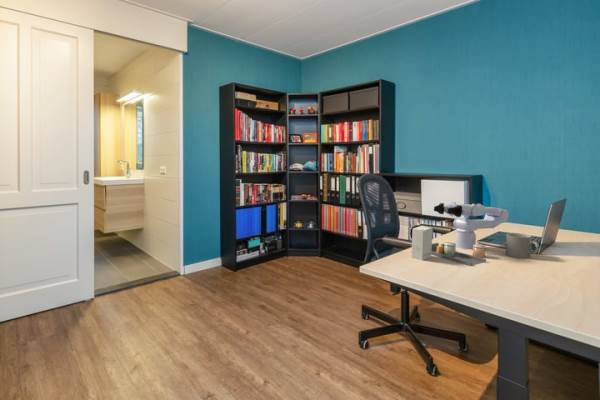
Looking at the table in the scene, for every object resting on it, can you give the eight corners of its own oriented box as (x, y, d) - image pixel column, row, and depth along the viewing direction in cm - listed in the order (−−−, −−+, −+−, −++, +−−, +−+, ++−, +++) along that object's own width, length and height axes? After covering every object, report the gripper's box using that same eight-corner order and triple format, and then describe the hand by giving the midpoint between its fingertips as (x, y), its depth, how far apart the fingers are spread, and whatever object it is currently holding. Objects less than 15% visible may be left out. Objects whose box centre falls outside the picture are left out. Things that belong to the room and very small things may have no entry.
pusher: (447, 252, 163) (448, 242, 163) (449, 252, 162) (450, 243, 162) (436, 254, 159) (436, 244, 159) (438, 255, 158) (438, 245, 158)
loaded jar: (448, 253, 161) (448, 241, 160) (457, 256, 157) (458, 244, 156) (441, 255, 159) (441, 243, 158) (450, 257, 154) (451, 245, 153)
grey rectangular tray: (437, 249, 171) (437, 242, 170) (486, 263, 148) (487, 255, 148) (421, 252, 165) (421, 245, 164) (469, 267, 142) (470, 259, 142)
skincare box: (420, 255, 160) (421, 225, 158) (432, 258, 155) (433, 227, 153) (410, 259, 154) (411, 227, 153) (422, 262, 150) (423, 229, 148)
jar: (476, 255, 160) (477, 243, 159) (487, 258, 156) (488, 246, 155) (469, 256, 158) (470, 245, 157) (480, 259, 153) (481, 247, 152)
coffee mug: (500, 253, 162) (502, 233, 161) (514, 251, 166) (515, 232, 165) (528, 261, 150) (530, 240, 149) (542, 258, 154) (544, 237, 153)
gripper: (447, 200, 174) (429, 200, 167) (473, 203, 161) (455, 203, 155) (445, 213, 174) (428, 213, 168) (471, 218, 162) (453, 218, 155)
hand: (441, 209), depth 161 cm, fingers open, 7 cm apart
